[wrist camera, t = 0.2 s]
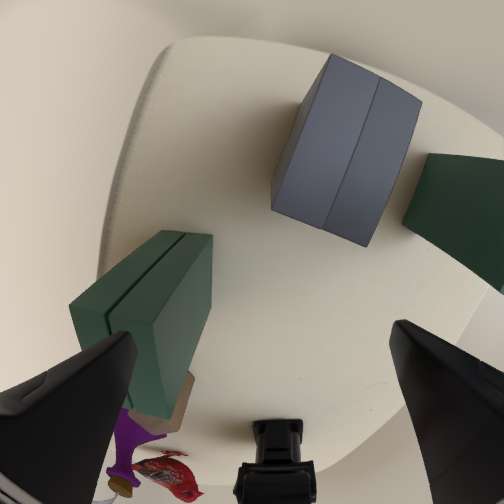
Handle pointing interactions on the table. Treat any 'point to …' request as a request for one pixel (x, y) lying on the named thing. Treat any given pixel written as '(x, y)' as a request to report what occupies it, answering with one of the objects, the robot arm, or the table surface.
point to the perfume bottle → (126, 455)
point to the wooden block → (168, 426)
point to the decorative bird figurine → (170, 475)
